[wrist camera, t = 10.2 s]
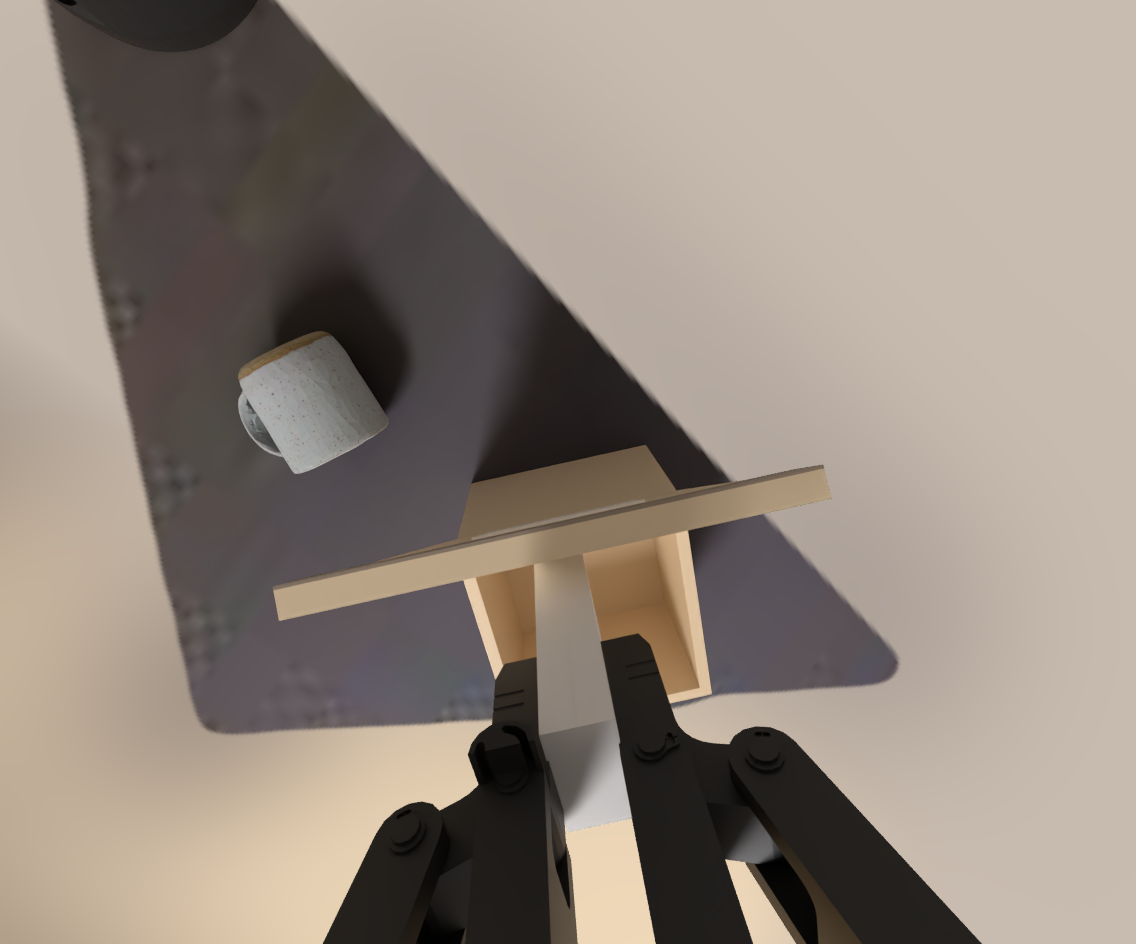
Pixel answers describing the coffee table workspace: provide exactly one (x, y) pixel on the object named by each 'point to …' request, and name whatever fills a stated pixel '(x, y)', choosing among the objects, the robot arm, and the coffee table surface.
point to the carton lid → (552, 540)
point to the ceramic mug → (307, 402)
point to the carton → (593, 566)
